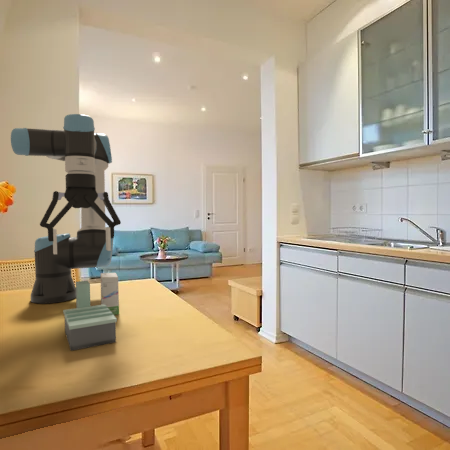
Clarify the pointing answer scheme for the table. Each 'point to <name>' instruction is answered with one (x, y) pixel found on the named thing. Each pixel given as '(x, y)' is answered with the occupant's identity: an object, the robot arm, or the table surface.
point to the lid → (87, 310)
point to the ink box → (110, 292)
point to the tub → (90, 335)
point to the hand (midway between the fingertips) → (82, 252)
